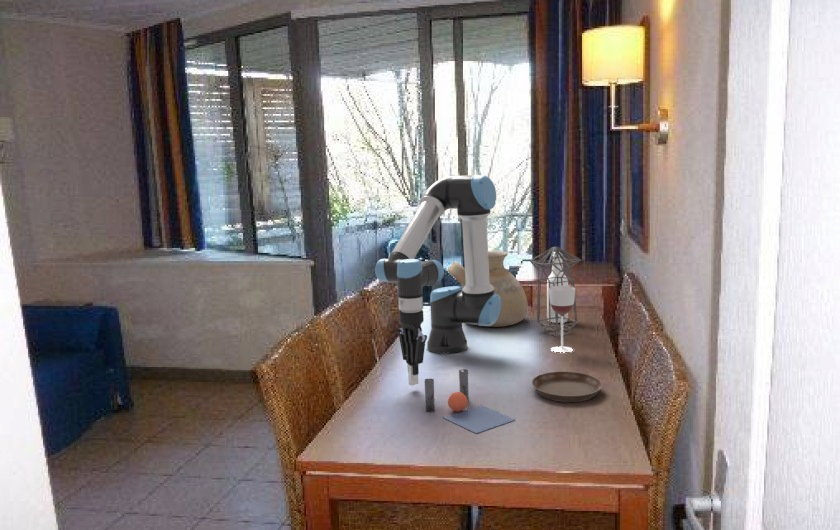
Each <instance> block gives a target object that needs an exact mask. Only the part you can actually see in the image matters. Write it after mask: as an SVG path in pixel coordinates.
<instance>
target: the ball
mask: <svg viewBox="0 0 840 530" xmlns="http://www.w3.org/2000/svg"><path fill="white" fill-rule="evenodd" d="M447 404H448V405H447V406H448V407H449V409H450V410H452V411H453V412H455V413H459V412H462V411H465V410H466V408H467V406H468V401H467V398H466V396H465V395H464V394H463V393H461V392H460V391H455V392H453V393H451V394H450V396H448V401H447Z"/></svg>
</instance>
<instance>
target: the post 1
mask: <svg viewBox="0 0 840 530" xmlns="http://www.w3.org/2000/svg"><path fill="white" fill-rule="evenodd" d="M424 401H425V402H424V403H425V412H428V413H431V412H435V410H436V409H435V408H436V407H435V405H436V404H435V379H434V378H425V379H424Z"/></svg>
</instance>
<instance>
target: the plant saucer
mask: <svg viewBox="0 0 840 530" xmlns="http://www.w3.org/2000/svg"><path fill="white" fill-rule="evenodd" d="M531 385H532V387H533V389H535V391H536V392H537V393H538V394H539V395H541V396H543V397H544V398H546V399H548V400H552V401H556V402H561V403H562V402H563V403H577V402H583V401H587V400H590V399H592V398H594V397H595V396H596V395H597V394H598V393H599V392H600V391H601V389H602V388H603V384H602V381H600V379H598V378H596V377H595V376H593V375H590V374H586V373H581V372H576V371H575V372H574V371H553V372H552V371H549V372H546V373H542V374H539V375H536V376H535V377H534V378H533V379H532V381H531Z"/></svg>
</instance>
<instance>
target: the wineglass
mask: <svg viewBox="0 0 840 530" xmlns="http://www.w3.org/2000/svg"><path fill="white" fill-rule="evenodd" d="M549 295H550V304H551V307H552V309H553V310H554V311H555V312H556V313H558V314H559V315H561V331H560V335H561V336H560V346H559V347H558V346H553V347H550V349H551V350H550V351H551V352H553V351H554V352H553V353H556V352H560V353H559V354H566V353H565V352H570V353H573V352H574V351H573V349H574V348H573V347H571V346H564V335H563V334H564V331H563V329H564V326H563V324H564V323H563V316H564V315H565V314H567V313H568V314H569V312H571V311H572V310H573V309H574V306H573V305H574V300H576V288H575V286H574V287H572V286H570V285H568V286H552V287H550V288H549ZM572 348H573V349H572ZM572 351H573V352H572ZM561 352H563V353H561Z"/></svg>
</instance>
